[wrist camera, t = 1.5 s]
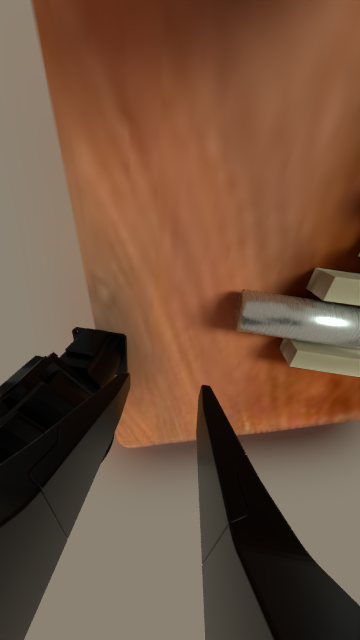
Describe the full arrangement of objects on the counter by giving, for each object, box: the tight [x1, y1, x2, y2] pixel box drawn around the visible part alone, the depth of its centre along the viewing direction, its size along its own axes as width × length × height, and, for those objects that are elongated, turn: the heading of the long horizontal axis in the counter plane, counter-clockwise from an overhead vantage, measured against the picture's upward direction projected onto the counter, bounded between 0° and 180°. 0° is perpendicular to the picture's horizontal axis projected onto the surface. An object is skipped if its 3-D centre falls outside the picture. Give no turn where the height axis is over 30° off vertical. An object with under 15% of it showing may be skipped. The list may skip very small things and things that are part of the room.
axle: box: [234, 289, 360, 349], centre depth 18 cm, size 14×4×4 cm, turn 83°
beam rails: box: [279, 268, 360, 377], centre depth 18 cm, size 9×7×3 cm
